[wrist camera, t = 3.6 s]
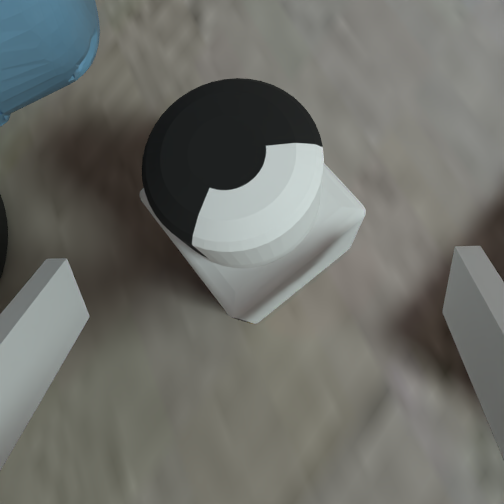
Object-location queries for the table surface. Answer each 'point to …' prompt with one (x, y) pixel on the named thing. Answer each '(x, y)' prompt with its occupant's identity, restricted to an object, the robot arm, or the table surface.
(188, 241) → the medicine bottle
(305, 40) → the table surface
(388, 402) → the table surface
